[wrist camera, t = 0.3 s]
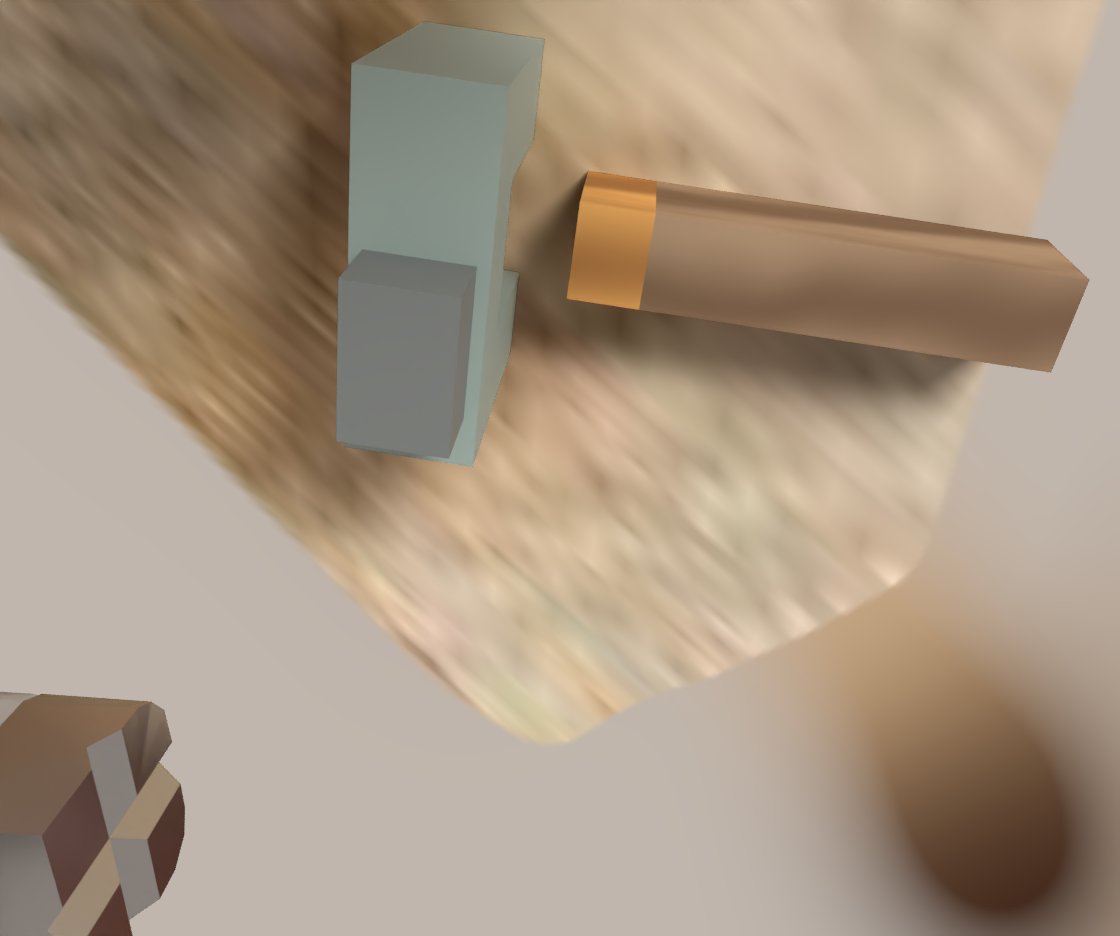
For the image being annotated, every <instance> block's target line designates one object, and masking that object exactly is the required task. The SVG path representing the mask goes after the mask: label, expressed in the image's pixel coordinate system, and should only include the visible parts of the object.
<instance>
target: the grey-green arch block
mask: <svg viewBox="0 0 1120 936" xmlns="http://www.w3.org/2000/svg"><path fill="white" fill-rule="evenodd" d="M544 40H545V39H539V38H533V37H526V36H519V35H512V34H506V33H499V32H492V31H486V30H479V29H472V28H465V27H459V26H452V25H445V24H439V23H432V22H425V21H423V22H422V23H420V24H418V25H416V26H415V27H413V28H411V29H410V30H408V31H406V32H404V33H403V34H401V35H399V36H398V37H396V38H394V39H392V40H391V41H389V42H387V43H386V44H384V45H382V46H380V47H379V48H377V49H375V50H374V51H372V52H370V53H368V54H367V55H365V56H363V57H361V58H360V59H358V60H356V61H355V62H353V63H351V114H350V170H349V227H348V267H347V269H346V270H345V271H344V272H343V274H342V275H341V276H340V277H339V278H338V325H337V404H336V441H337V442H343V443H345V447H348V448H355V449H361V450H368V451H374V452H381V453H387V454H394V455H400V456H406V457H413V458H419V459H426V460H432V461H439V462H445V463H452V464H458V465H464V466H471V467H473V464H474V461H475V458H476V455H477V452H478V449H479V446H480V443H481V440H482V437H483V434H484V431H485V427H486V424H487V421H488V418H489V415H490V412H491V409H492V406H493V403H494V400H495V397H496V394H497V391H498V388H499V385H500V382H501V379H502V376H503V373H504V370H505V367H506V364H507V361H508V357H509V354H510V351H511V342H512V333H513V324H514V314H515V305H516V296H517V287H518V278H519V272H514V271H508V270H503V268H504V258H505V248H506V238H507V228H508V218H509V209H510V199H511V189H512V181H513V179H514V177H515V175H516V173H517V171H518V169H519V167H520V165H521V163H522V161H523V159H524V157H525V155H526V153H527V151H528V149H529V147H530V145H531V143H532V141H533V139H534V131H535V122H536V113H537V104H538V95H539V86H540V76H541V67H542V58H543V49H544Z"/></svg>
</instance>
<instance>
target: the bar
mask: <svg viewBox="0 0 1120 936" xmlns="http://www.w3.org/2000/svg"><path fill="white" fill-rule="evenodd" d="M1088 282H1089V279H1088V278H1087V277H1086V276H1085V275H1084V274H1083V273H1082V272H1081V271H1080V270H1079V269H1077V268H1076V267H1075V266H1074V265H1073V264H1072V263H1071V262H1070V261H1069V260H1068V259H1067V258H1066V257H1065V256H1064V255H1063V254H1062V253H1061V252H1060V251H1058V250H1057V249H1056V248H1055V247H1054V246H1053V245H1052V244H1051V243H1050V242H1049V241H1048V240H1044V239H1037V238H1031V237H1024V236H1017V235H1011V234H1004V233H997V232H991V231H984V230H977V229H971V228H964V227H957V226H951V225H944V224H938V223H931V222H924V221H918V220H911V219H904V218H898V217H891V216H884V215H878V214H871V213H864V212H858V211H851V210H844V209H838V208H831V207H825V206H818V205H811V204H805V203H798V202H791V201H785V200H778V199H771V198H765V197H758V196H751V195H745V194H738V193H732V192H725V191H718V190H712V189H705V188H698V187H692V186H685V185H678V184H672V183H665V182H658V181H652V180H645V179H638V178H632V177H625V176H619V175H612V174H605V173H599V172H592V171H588V174H587V177H586V181H585V185H584V189H583V192H582V196H581V200H580V205H579V212H578V219H577V227H576V234H575V241H574V249H573V256H572V263H571V271H570V278H569V285H568V293H567V299H572V300H578V301H585V302H591V303H598V304H604V305H611V306H618V307H624V308H631V309H637V310H644V311H650V312H657V313H664V314H670V315H677V316H683V317H690V318H696V319H703V320H709V321H716V322H723V323H729V324H736V325H742V326H749V327H755V328H762V329H769V330H775V331H782V332H788V333H795V334H801V335H808V336H814V337H821V338H828V339H834V340H841V341H847V342H854V343H860V344H867V345H874V346H880V347H887V348H893V349H900V350H906V351H913V352H920V353H926V354H933V355H939V356H946V357H952V358H959V359H965V360H972V361H979V362H985V363H992V364H998V365H1005V366H1011V367H1018V368H1025V369H1031V370H1038V371H1045V372H1051V371H1052V369H1053V366H1054V364H1055V361H1056V359H1057V357H1058V354H1059V352H1060V349H1061V347H1062V344H1063V342H1064V340H1065V337H1066V335H1067V333H1068V330H1069V328H1070V325H1071V323H1072V321H1073V318H1074V316H1075V313H1076V311H1077V309H1078V306H1079V304H1080V301H1081V299H1082V297H1083V294H1084V292H1085V289H1086V287H1087V284H1088Z"/></svg>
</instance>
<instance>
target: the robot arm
mask: <svg viewBox="0 0 1120 936" xmlns="http://www.w3.org/2000/svg"><path fill="white" fill-rule="evenodd" d="M171 743H172V740H171V736H170V732H169V728H168V724H167V720H166V716H165V712H164V710H163V709H162V708H160V707H158V706H157V705H155V704H154V703H152V702H148V701H134V700H119V699H105V698H92V697H77V696H63V695H49V694H40V695H34V694H25V693H8V692H0V936H132V932H131V927H130V923H129V920H130V919H131V918H133V917H134V916H135V915H137V914H138V913H140V912H141V911H143V910H144V909H146V908H147V907H148V906H150V905H151V904H153V903H154V902H155V901H157V900H159V899H160V897H161V896H162V893H163V892H164V890H165V888H166V886H167V884H168V882H169V880H170V878H171V877H172V875H173V873H174V871H175V868H176V864H177V860H178V857H179V853H180V849H181V845H182V841H183V838H184V823H185V821H184V820H185V806H184V801H183V795H182V790H181V784H180V783H179V782H178V781H177V780H176V779H175V778H174V777H173V776H172V775H171V774H170V773H169V772H168V771H167V770H166V769H165V768H164V767H163V766H162V765H161V764H160V763H159V761H160V760H161V758H162V757H163V755H164V753H165V752H166V750H167V749H168V747H169V746H170V744H171Z"/></svg>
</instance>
